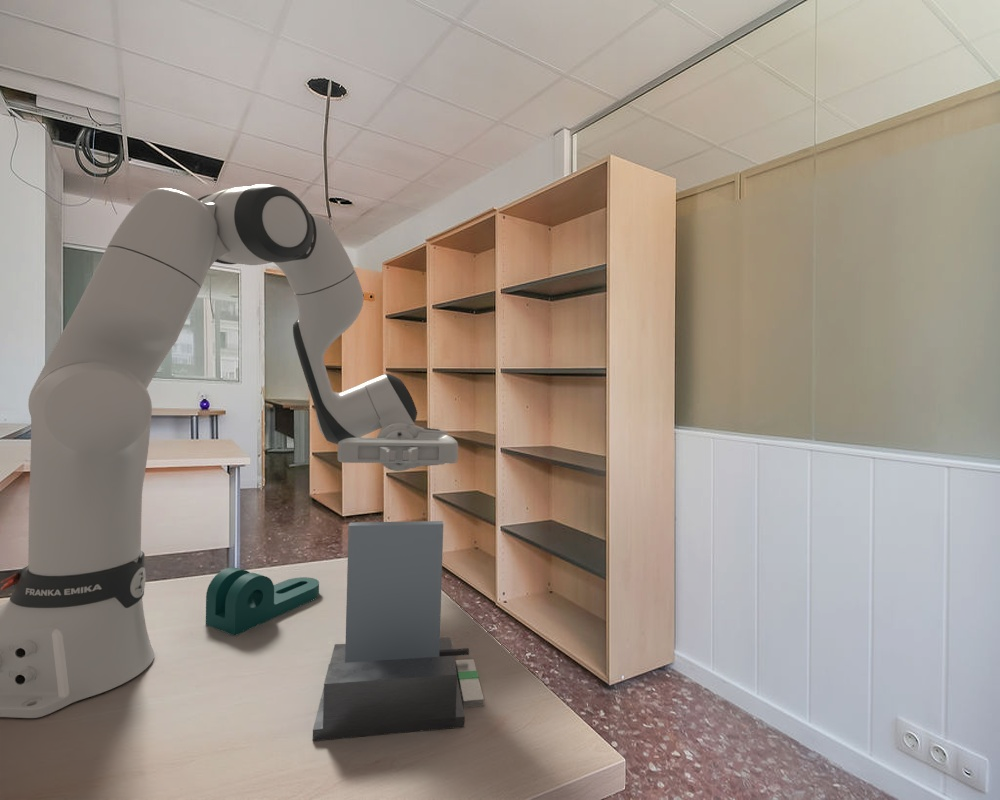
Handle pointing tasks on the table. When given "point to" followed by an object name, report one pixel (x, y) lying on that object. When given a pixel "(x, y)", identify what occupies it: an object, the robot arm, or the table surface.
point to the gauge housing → (395, 695)
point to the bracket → (253, 599)
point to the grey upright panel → (394, 591)
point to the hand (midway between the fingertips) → (398, 456)
